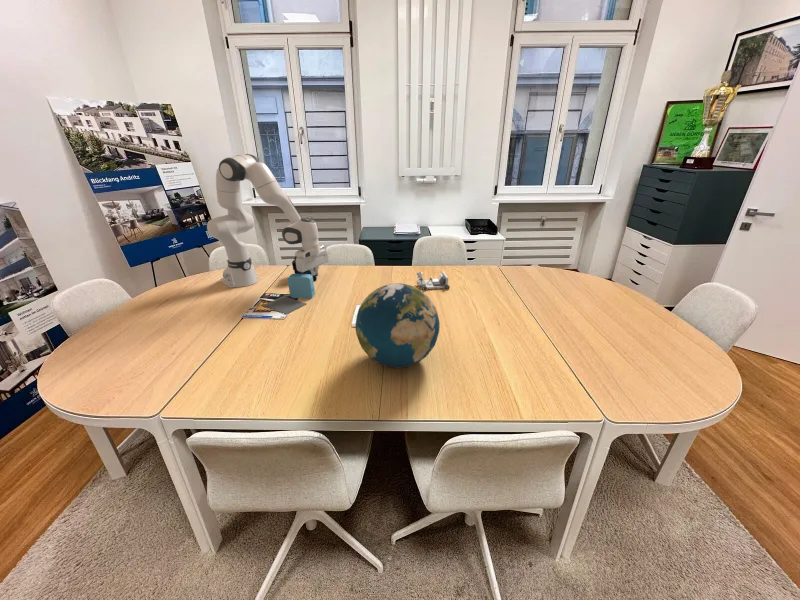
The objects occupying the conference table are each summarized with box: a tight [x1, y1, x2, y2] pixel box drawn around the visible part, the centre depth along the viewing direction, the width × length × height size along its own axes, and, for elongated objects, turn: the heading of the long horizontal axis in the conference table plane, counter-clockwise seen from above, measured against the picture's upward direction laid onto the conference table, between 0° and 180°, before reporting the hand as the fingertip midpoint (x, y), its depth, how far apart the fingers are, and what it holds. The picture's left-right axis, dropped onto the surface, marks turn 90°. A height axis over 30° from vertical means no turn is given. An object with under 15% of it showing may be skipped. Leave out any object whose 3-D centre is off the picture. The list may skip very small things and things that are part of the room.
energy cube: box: [291, 255, 319, 282], centre depth 204 cm, size 12×12×12 cm
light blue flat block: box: [287, 273, 316, 300], centre depth 180 cm, size 12×4×12 cm, turn 83°
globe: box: [355, 282, 441, 369], centre depth 124 cm, size 30×30×30 cm
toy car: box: [415, 270, 450, 292], centre depth 191 cm, size 18×10×12 cm
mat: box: [262, 295, 307, 315], centre depth 174 cm, size 17×13×1 cm
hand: (314, 274), depth 186 cm, fingers closed
